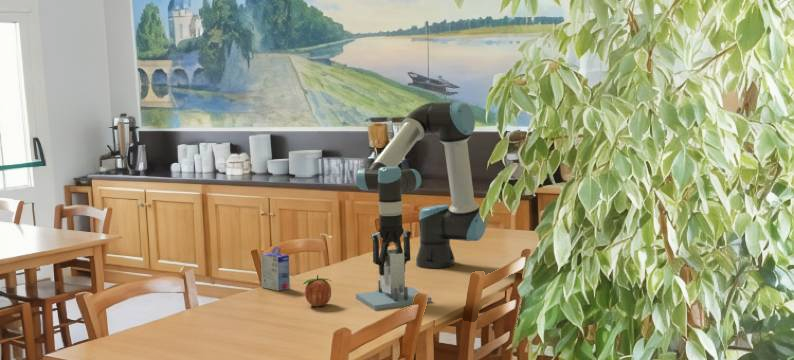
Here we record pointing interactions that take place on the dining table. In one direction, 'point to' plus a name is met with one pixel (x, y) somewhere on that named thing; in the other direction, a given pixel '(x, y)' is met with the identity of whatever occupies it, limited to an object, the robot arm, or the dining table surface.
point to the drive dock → (388, 298)
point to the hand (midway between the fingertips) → (392, 283)
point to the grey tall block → (394, 271)
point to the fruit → (317, 291)
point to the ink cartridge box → (275, 270)
